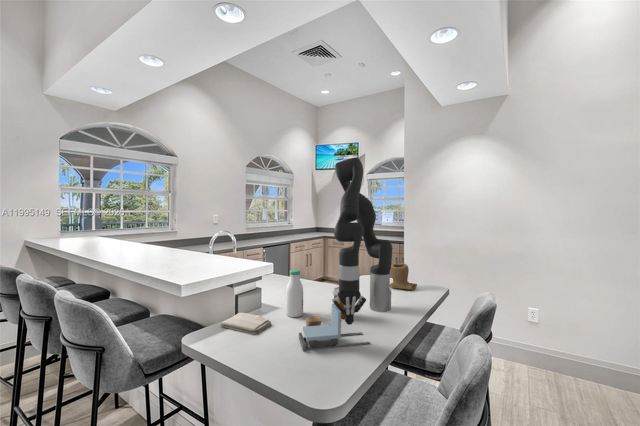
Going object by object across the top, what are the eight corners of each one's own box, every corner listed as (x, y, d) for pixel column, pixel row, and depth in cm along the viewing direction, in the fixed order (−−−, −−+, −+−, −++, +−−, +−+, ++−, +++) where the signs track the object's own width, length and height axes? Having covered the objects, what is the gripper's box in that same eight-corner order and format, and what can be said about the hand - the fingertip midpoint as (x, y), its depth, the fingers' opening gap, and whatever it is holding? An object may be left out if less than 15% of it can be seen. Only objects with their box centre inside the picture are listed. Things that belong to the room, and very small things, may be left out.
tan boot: (386, 289, 176) (387, 264, 175) (392, 284, 186) (392, 260, 186) (413, 293, 169) (413, 267, 168) (417, 288, 179) (417, 263, 179)
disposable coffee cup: (356, 314, 136) (356, 288, 135) (349, 321, 127) (350, 293, 127) (337, 310, 140) (337, 285, 139) (329, 318, 131) (329, 290, 131)
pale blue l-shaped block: (334, 333, 113) (334, 303, 113) (340, 344, 105) (341, 311, 104) (302, 336, 111) (303, 305, 110) (306, 347, 102) (307, 314, 102)
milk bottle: (300, 318, 130) (300, 272, 130) (283, 316, 132) (283, 271, 131) (304, 312, 138) (305, 269, 137) (288, 310, 139) (289, 268, 139)
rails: (361, 332, 116) (361, 327, 116) (370, 344, 106) (371, 339, 106) (298, 338, 111) (298, 332, 111) (302, 351, 101) (302, 345, 101)
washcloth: (256, 336, 113) (256, 328, 113) (218, 328, 121) (218, 320, 120) (272, 324, 124) (272, 317, 124) (238, 317, 131) (238, 310, 131)
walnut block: (318, 328, 120) (318, 316, 120) (321, 333, 115) (321, 320, 115) (306, 329, 119) (306, 317, 119) (308, 334, 114) (308, 321, 114)
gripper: (362, 273, 114) (362, 318, 115) (329, 275, 111) (329, 321, 112) (370, 278, 107) (370, 326, 107) (334, 280, 104) (334, 329, 105)
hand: (349, 323), depth 110 cm, fingers closed
